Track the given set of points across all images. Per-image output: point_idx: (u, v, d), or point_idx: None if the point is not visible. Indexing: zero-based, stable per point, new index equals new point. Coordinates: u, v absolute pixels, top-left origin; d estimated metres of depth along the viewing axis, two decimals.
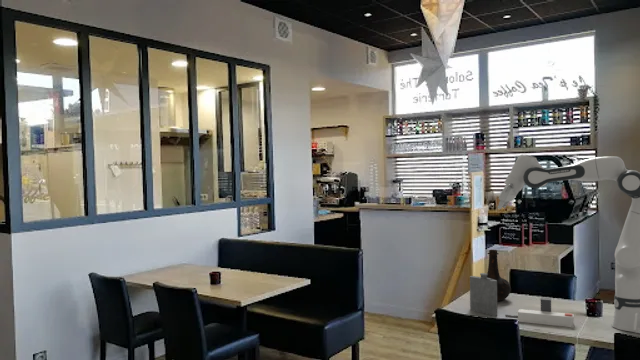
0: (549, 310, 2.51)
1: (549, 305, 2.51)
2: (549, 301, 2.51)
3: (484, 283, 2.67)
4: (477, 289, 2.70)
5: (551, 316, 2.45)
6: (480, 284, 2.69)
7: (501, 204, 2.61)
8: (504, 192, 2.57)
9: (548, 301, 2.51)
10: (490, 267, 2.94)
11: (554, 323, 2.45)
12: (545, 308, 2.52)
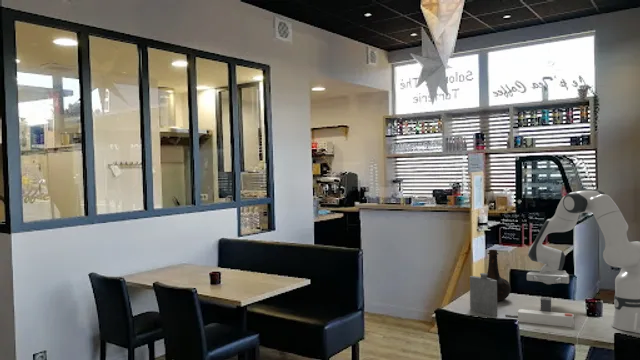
0: (549, 310, 2.51)
1: (549, 305, 2.51)
2: (549, 301, 2.51)
3: (484, 283, 2.67)
4: (477, 289, 2.70)
5: (551, 316, 2.45)
6: (480, 284, 2.69)
7: (534, 278, 2.70)
8: None
9: (548, 301, 2.51)
10: (490, 267, 2.94)
11: (554, 323, 2.45)
12: (545, 308, 2.52)
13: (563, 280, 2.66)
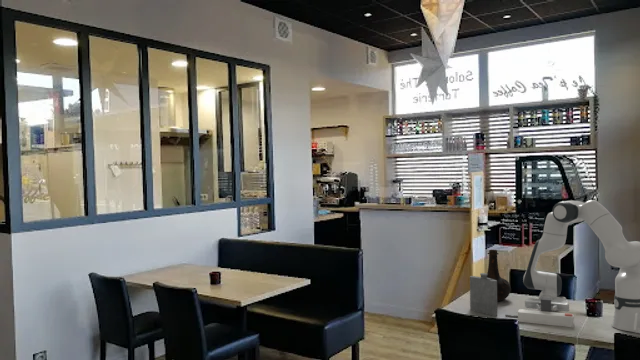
0: (549, 310, 2.51)
1: (549, 305, 2.51)
2: (549, 301, 2.51)
3: (484, 283, 2.67)
4: (477, 289, 2.70)
5: (551, 316, 2.45)
6: (480, 284, 2.69)
7: (536, 305, 2.57)
8: None
9: (548, 301, 2.51)
10: (490, 267, 2.94)
11: (554, 323, 2.45)
12: (545, 308, 2.52)
13: (563, 308, 2.54)
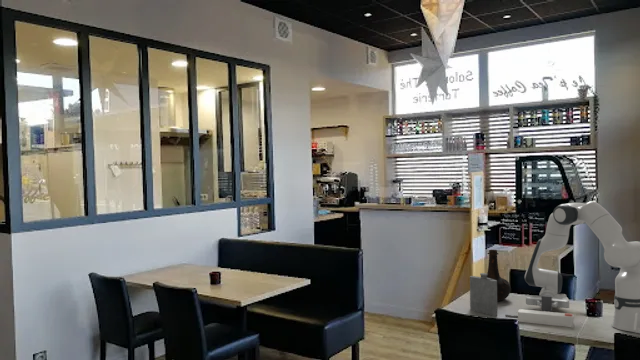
0: (550, 307, 2.57)
1: (550, 302, 2.57)
2: (550, 298, 2.57)
3: (484, 283, 2.67)
4: (477, 289, 2.70)
5: (551, 316, 2.45)
6: (480, 284, 2.69)
7: (537, 302, 2.64)
8: None
9: (549, 298, 2.57)
10: (490, 267, 2.94)
11: (554, 323, 2.45)
12: (545, 305, 2.58)
13: (563, 305, 2.60)
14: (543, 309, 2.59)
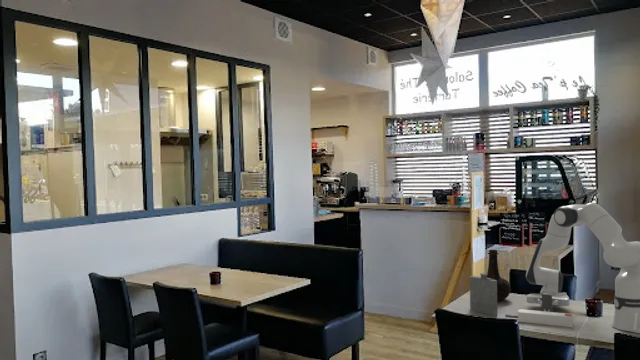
0: (550, 305, 2.61)
1: (550, 300, 2.61)
2: (550, 296, 2.61)
3: (484, 283, 2.67)
4: (477, 289, 2.70)
5: (551, 316, 2.45)
6: (480, 284, 2.69)
7: (538, 300, 2.67)
8: None
9: (549, 296, 2.61)
10: (490, 267, 2.94)
11: (554, 323, 2.45)
12: (546, 303, 2.62)
13: (563, 303, 2.64)
14: (543, 307, 2.62)
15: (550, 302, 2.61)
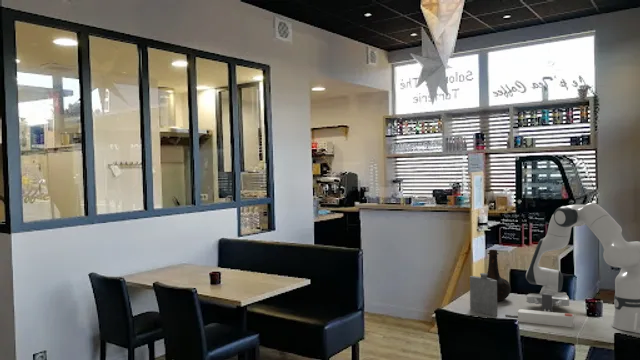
0: (550, 305, 2.61)
1: (550, 300, 2.61)
2: (550, 296, 2.61)
3: (484, 283, 2.67)
4: (477, 289, 2.70)
5: (551, 316, 2.45)
6: (480, 284, 2.69)
7: (534, 300, 2.68)
8: None
9: (549, 296, 2.61)
10: (490, 267, 2.94)
11: (554, 323, 2.45)
12: (546, 303, 2.62)
13: (563, 303, 2.64)
14: (543, 307, 2.62)
15: (550, 302, 2.61)
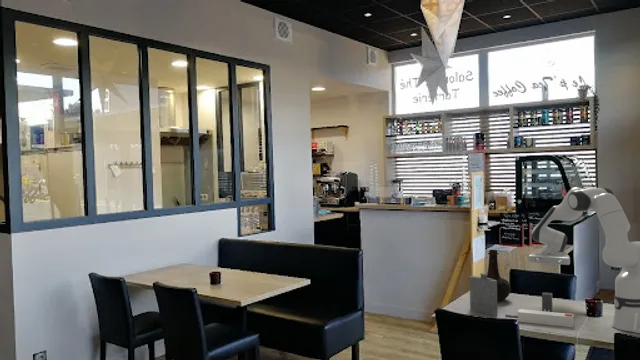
0: (550, 305, 2.61)
1: (550, 300, 2.61)
2: (550, 296, 2.61)
3: (484, 283, 2.67)
4: (477, 289, 2.70)
5: (551, 316, 2.45)
6: (480, 284, 2.69)
7: (536, 259, 2.78)
8: None
9: (549, 296, 2.61)
10: (490, 267, 2.94)
11: (554, 323, 2.45)
12: (546, 303, 2.62)
13: (564, 262, 2.74)
14: (543, 307, 2.62)
15: (550, 302, 2.61)
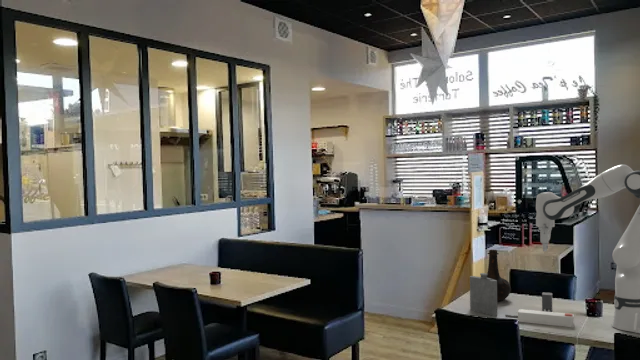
0: (550, 305, 2.61)
1: (550, 300, 2.61)
2: (550, 296, 2.61)
3: (484, 283, 2.67)
4: (477, 289, 2.70)
5: (551, 316, 2.45)
6: (480, 284, 2.69)
7: (545, 246, 2.66)
8: (543, 234, 2.63)
9: (549, 296, 2.61)
10: (490, 267, 2.94)
11: (554, 323, 2.45)
12: (546, 303, 2.62)
13: None
14: (543, 307, 2.62)
15: (550, 302, 2.61)
